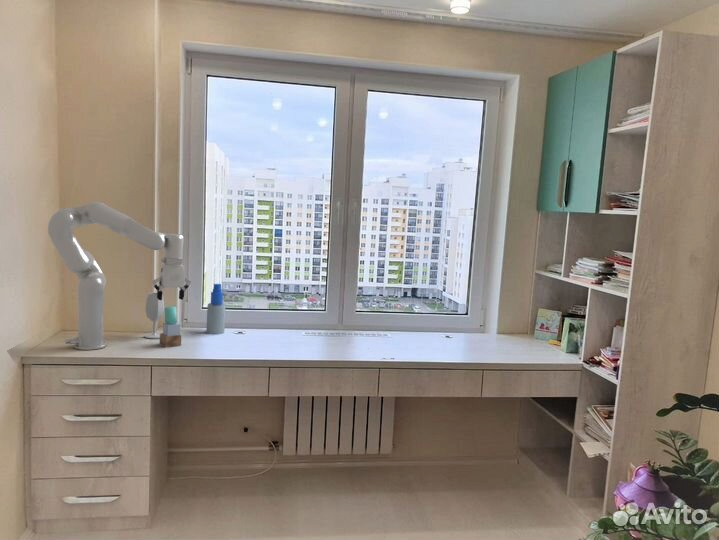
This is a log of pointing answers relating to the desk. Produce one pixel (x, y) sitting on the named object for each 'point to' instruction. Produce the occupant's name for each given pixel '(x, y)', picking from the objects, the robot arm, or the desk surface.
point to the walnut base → (170, 340)
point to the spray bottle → (216, 312)
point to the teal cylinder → (170, 315)
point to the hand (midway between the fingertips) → (170, 299)
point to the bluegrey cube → (171, 329)
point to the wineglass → (154, 312)
